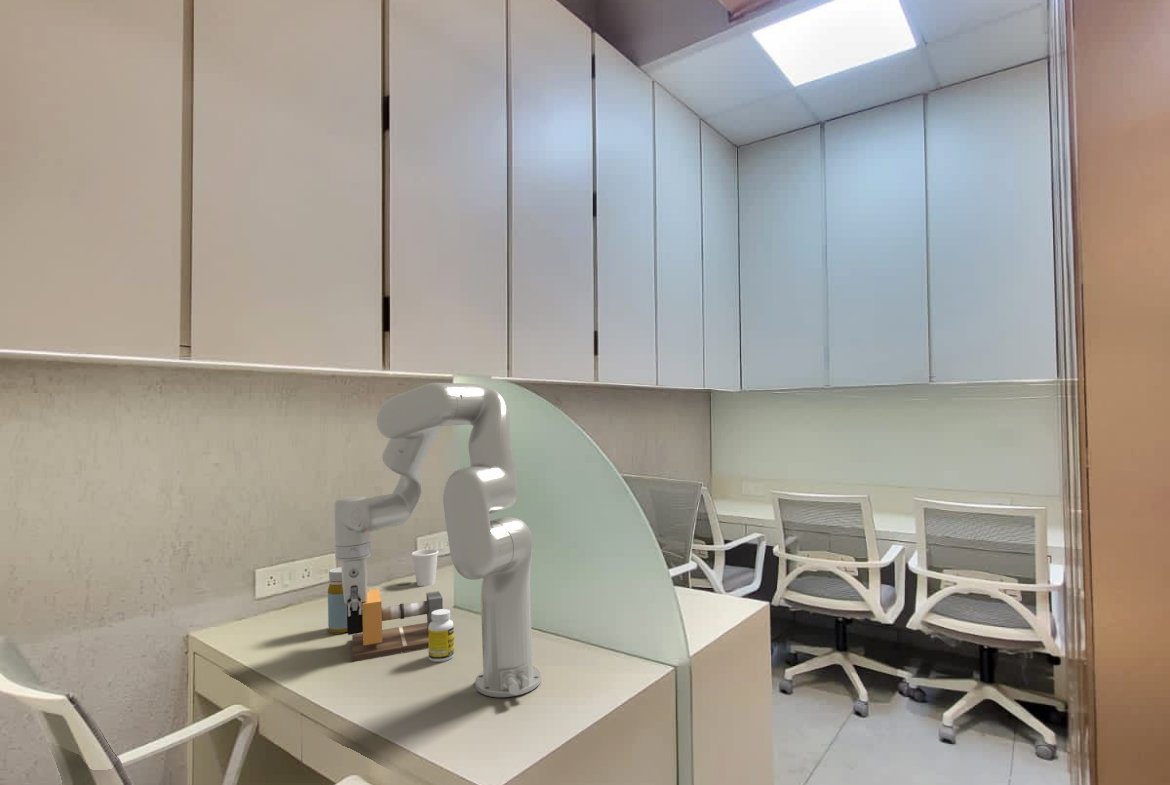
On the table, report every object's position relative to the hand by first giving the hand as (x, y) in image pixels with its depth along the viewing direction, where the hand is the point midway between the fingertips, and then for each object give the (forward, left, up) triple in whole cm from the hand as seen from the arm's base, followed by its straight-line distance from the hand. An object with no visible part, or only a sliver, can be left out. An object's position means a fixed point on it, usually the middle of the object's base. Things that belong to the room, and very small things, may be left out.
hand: (354, 626), depth 134 cm
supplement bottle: (-14, -17, -5) cm, 23 cm away
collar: (0, -4, -3) cm, 4 cm away
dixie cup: (+49, -21, -5) cm, 54 cm away
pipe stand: (0, -9, -5) cm, 11 cm away
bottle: (+16, +3, -5) cm, 17 cm away
